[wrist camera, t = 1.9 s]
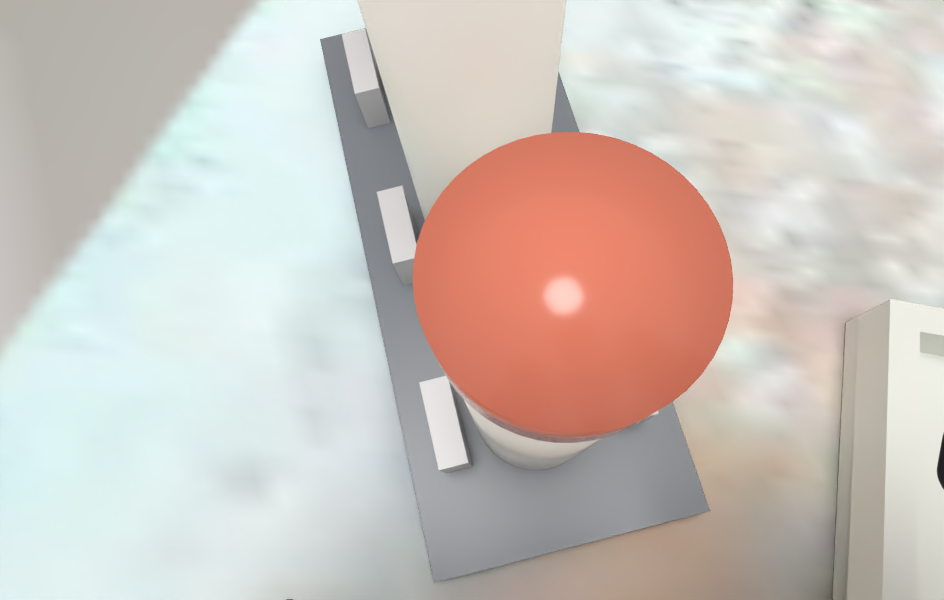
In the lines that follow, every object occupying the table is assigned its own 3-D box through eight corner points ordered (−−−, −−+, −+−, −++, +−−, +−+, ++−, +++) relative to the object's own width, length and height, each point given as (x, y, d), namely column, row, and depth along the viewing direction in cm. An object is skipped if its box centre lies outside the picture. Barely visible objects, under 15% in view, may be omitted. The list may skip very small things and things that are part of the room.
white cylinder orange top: (587, 486, 18) (715, 464, 7) (458, 458, 19) (377, 394, 7) (607, 359, 19) (745, 157, 8) (484, 335, 20) (450, 111, 8)
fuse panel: (700, 510, 19) (1061, 531, 6) (437, 579, 19) (297, 733, 6) (528, 8, 25) (548, -489, 12) (327, 57, 24) (140, -396, 12)
